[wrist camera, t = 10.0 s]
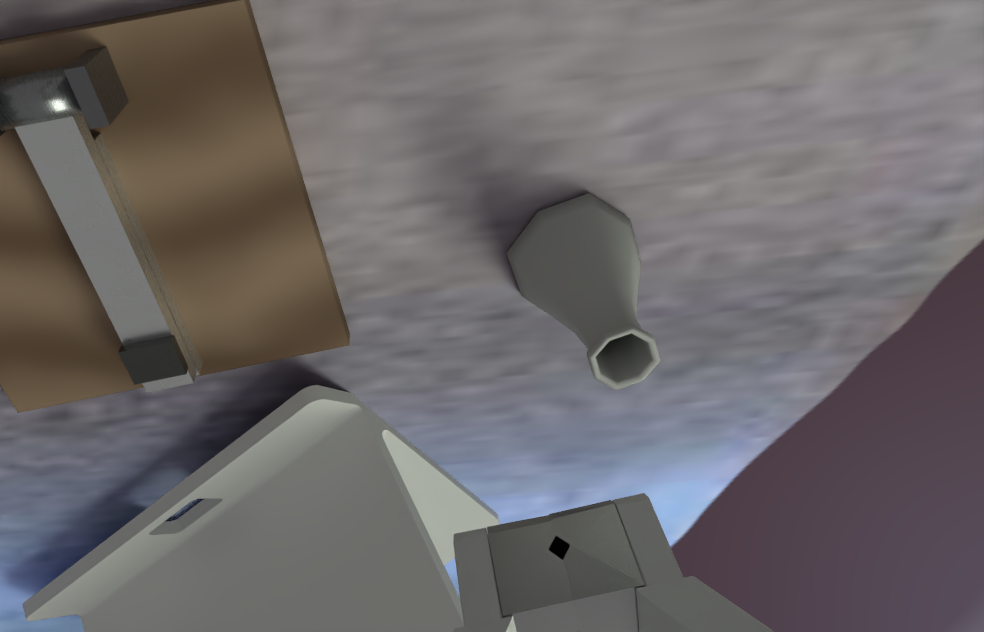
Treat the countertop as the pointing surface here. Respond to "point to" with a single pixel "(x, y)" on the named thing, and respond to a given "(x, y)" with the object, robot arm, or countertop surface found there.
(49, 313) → the walnut board
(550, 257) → the flask
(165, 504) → the tablet stand
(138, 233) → the lower tong arm
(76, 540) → the countertop surface
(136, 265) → the upper tong arm
